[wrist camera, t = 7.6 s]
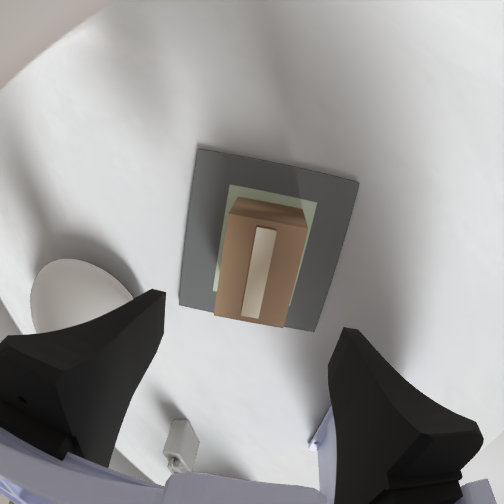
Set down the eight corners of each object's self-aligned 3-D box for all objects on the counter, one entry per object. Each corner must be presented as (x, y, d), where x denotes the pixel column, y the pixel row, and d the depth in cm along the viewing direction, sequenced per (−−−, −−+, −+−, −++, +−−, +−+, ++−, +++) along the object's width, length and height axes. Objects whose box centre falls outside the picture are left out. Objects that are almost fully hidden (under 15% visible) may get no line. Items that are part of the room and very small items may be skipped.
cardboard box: (302, 208, 20) (308, 229, 16) (282, 294, 22) (283, 328, 18) (237, 196, 20) (227, 214, 16) (224, 283, 22) (213, 316, 18)
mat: (313, 328, 23) (314, 332, 23) (180, 302, 23) (178, 305, 23) (358, 181, 19) (359, 183, 19) (199, 149, 19) (197, 149, 19)
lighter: (172, 419, 29) (151, 482, 21) (188, 419, 29) (169, 485, 21) (193, 455, 31) (179, 512, 24) (207, 456, 31) (195, 514, 24)
